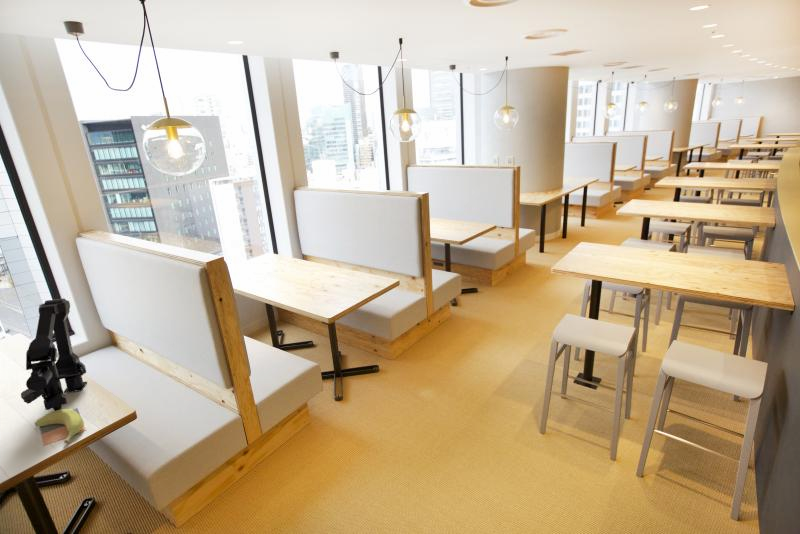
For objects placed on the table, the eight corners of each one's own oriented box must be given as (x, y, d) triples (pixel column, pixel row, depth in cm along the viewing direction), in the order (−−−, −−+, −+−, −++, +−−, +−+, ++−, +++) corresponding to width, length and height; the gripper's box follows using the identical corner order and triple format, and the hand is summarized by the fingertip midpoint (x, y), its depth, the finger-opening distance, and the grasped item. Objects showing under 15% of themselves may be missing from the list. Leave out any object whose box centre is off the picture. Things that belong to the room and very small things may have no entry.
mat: (38, 421, 162) (38, 421, 162) (77, 408, 169) (77, 408, 169) (41, 434, 155) (41, 434, 155) (81, 420, 162) (81, 419, 162)
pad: (41, 434, 155) (41, 434, 155) (81, 420, 162) (81, 419, 162) (43, 445, 149) (43, 445, 149) (85, 430, 157) (85, 429, 157)
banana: (73, 396, 164) (81, 427, 151) (80, 406, 167) (89, 437, 153) (30, 418, 157) (35, 452, 144) (39, 428, 160) (44, 462, 147)
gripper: (17, 374, 159) (28, 410, 164) (21, 395, 146) (32, 434, 151) (55, 363, 167) (64, 398, 171) (62, 383, 154) (71, 420, 158)
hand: (58, 412), depth 163 cm, fingers closed
